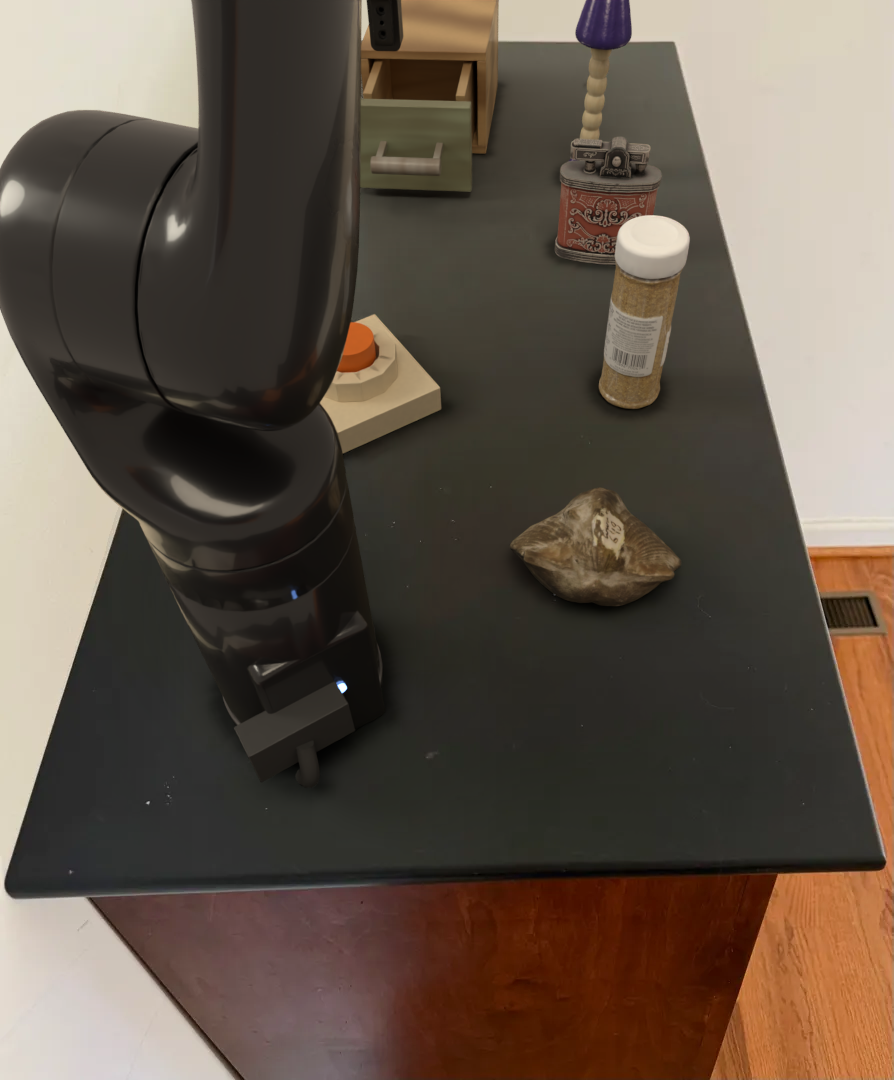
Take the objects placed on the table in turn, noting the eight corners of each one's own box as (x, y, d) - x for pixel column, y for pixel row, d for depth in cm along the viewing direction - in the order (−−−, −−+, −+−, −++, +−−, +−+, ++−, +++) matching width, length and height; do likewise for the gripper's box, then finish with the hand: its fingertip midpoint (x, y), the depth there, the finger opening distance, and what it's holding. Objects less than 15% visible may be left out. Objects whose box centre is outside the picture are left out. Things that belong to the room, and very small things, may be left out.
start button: (384, 361, 65) (382, 343, 64) (340, 380, 64) (337, 361, 63) (361, 334, 67) (358, 315, 66) (317, 352, 66) (314, 333, 65)
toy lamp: (609, 163, 87) (632, -30, 74) (617, 190, 84) (642, -5, 71) (559, 166, 87) (573, -26, 74) (566, 193, 84) (581, -2, 71)
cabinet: (485, 153, 89) (486, 52, 81) (369, 150, 90) (358, 49, 82) (497, 86, 97) (498, -12, 89) (390, 83, 98) (382, -14, 90)
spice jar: (670, 387, 68) (705, 229, 57) (636, 421, 66) (665, 263, 55) (619, 361, 70) (643, 203, 59) (584, 393, 68) (603, 235, 57)
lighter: (649, 244, 79) (667, 132, 71) (647, 267, 77) (666, 155, 69) (556, 237, 80) (564, 127, 72) (552, 260, 78) (560, 149, 70)
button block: (441, 409, 67) (439, 368, 64) (333, 458, 65) (325, 418, 61) (377, 335, 73) (372, 294, 69) (275, 378, 70) (265, 337, 67)
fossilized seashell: (489, 580, 55) (644, 652, 53) (529, 484, 52) (694, 557, 50) (518, 539, 61) (656, 601, 60) (554, 452, 59) (700, 515, 57)
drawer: (466, 218, 81) (464, 133, 74) (351, 213, 82) (340, 130, 75) (483, 122, 91) (483, 40, 84) (381, 119, 92) (373, 38, 86)
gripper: (409, -231, 49) (426, 92, 63) (439, -290, 57) (448, 8, 71) (273, -229, 50) (319, 89, 63) (322, -288, 58) (354, 6, 71)
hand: (387, 46), depth 67 cm, fingers closed
